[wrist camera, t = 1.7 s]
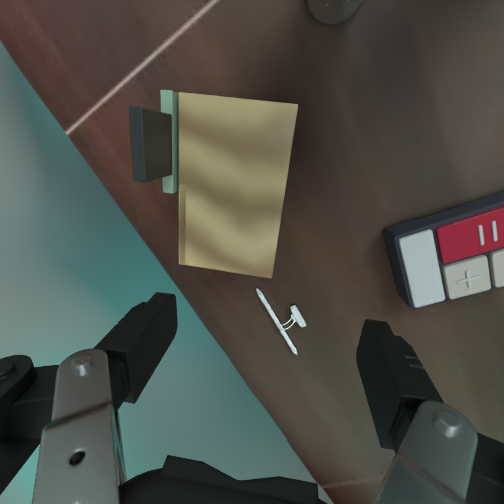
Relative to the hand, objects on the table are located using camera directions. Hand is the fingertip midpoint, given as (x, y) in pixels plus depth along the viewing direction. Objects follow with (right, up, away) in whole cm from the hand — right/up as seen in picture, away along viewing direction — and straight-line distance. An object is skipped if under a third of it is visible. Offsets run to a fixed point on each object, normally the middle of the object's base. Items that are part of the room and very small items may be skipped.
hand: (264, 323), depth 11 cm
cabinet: (-2, +13, +24) cm, 28 cm away
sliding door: (-7, +17, +22) cm, 29 cm away
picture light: (+5, -7, +32) cm, 33 cm away
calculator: (+26, +4, +24) cm, 36 cm away
